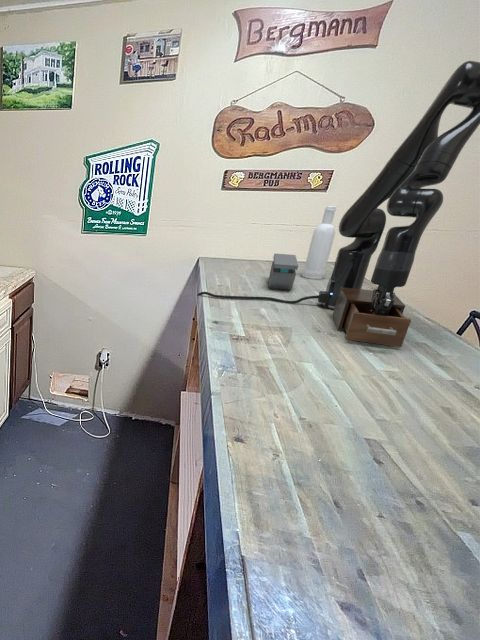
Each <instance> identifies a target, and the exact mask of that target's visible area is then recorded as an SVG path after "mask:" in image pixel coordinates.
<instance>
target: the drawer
mask: <svg viewBox="0 0 480 640" xmlns="http://www.w3.org/2000/svg"><path fill="white" fill-rule="evenodd" d="M370 306H371V305H368V304H358V303H349V306H348V309H347V312H346V315H345V319H344V322H343V326H344V328H345V330H346V331H345V333H346V335H345V338H344V339H345V340H347V341H348V340H349V341H354V342H360V343H369V344H375V345H376V344H377V345H384V346H391V347H397V348H402V346H403V343H404V341H405V338H406V335H407V333H408V330H409V328H410V323H411V321H412V319H411V318H409V317H406V316H405V315H404V313H403V314H402V313H401V312H400V310H399V309H398V308H396V307H391V309H390V311H389V313H388V315H387V316H383V315H375V314H371V312H370V310H371V309H370Z"/></svg>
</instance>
